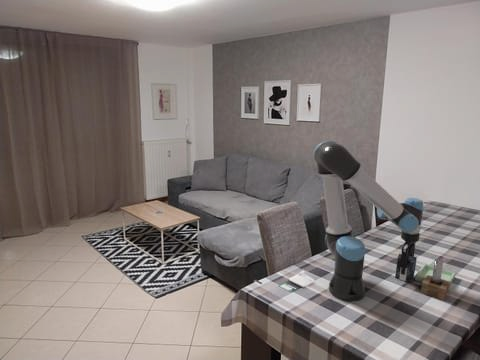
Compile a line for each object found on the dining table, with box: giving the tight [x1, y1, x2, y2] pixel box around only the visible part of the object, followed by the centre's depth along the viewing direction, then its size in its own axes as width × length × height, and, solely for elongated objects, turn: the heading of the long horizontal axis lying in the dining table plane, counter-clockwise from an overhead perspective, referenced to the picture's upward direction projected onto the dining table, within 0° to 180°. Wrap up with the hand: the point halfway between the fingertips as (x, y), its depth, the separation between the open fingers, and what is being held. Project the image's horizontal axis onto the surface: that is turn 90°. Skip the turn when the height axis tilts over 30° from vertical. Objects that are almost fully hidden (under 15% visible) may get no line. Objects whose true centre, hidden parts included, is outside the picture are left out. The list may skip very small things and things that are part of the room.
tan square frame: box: [420, 275, 451, 301], centre depth 152 cm, size 9×9×5 cm
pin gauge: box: [432, 258, 444, 285], centre depth 150 cm, size 3×3×15 cm
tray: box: [414, 263, 456, 288], centre depth 164 cm, size 16×14×2 cm
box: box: [394, 253, 417, 283], centre depth 164 cm, size 8×6×11 cm
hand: (405, 277), depth 165 cm, fingers open, 7 cm apart
